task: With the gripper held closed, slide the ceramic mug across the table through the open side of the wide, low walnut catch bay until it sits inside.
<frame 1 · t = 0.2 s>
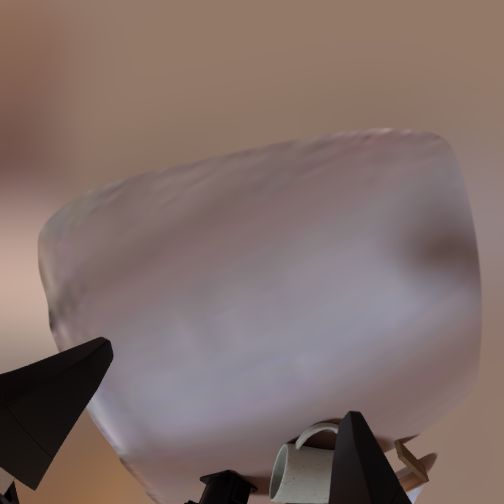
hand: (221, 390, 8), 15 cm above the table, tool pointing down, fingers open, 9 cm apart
catch bay: (358, 482, 26), on the table
ceramic mug: (312, 446, 26), on the table
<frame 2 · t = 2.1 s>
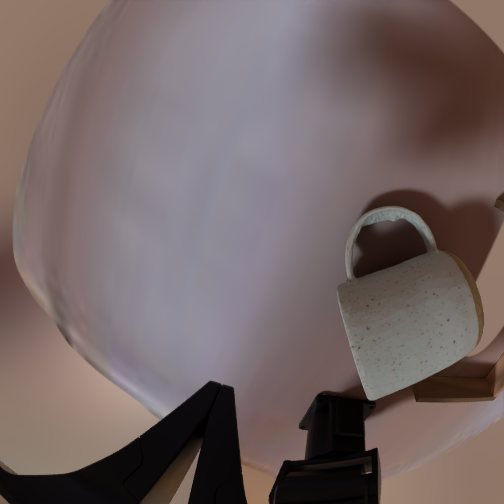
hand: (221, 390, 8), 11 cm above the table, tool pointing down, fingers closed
catch bay: (498, 312, 16), on the table
ceramic mug: (389, 277, 18), on the table
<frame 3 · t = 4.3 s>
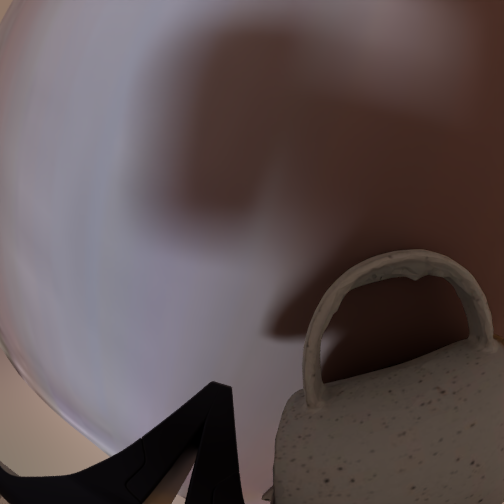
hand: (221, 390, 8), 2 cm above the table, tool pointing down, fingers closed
ceramic mug: (392, 364, 9), on the table, touching gripper
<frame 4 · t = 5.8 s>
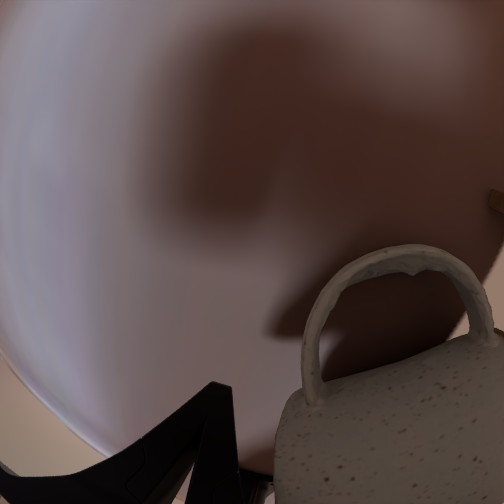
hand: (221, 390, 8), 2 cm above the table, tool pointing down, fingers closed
ceramic mug: (393, 361, 9), on the table, touching gripper
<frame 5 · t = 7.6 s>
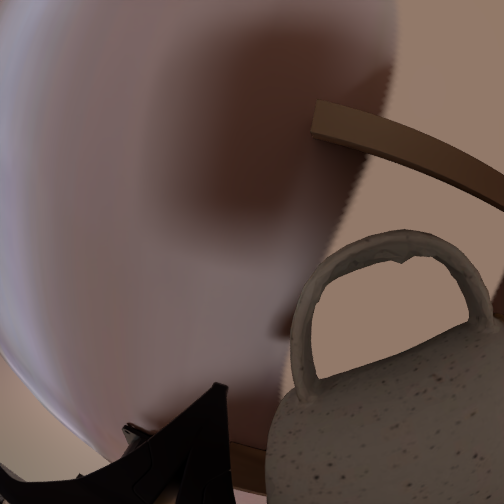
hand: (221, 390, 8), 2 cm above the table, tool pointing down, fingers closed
catch bay: (391, 386, 9), on the table
ceramic mug: (394, 354, 9), on the table, touching catch bay, gripper
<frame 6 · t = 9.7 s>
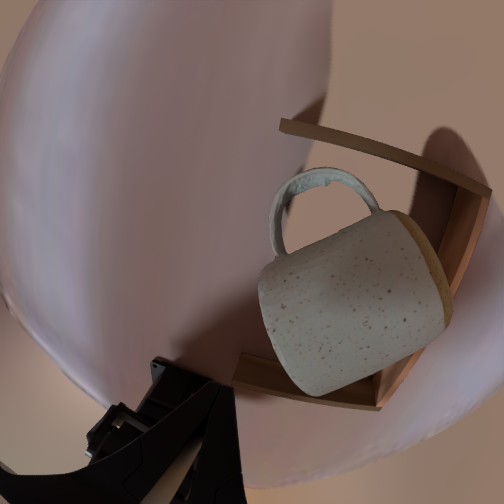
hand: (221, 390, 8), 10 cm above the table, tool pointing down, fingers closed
catch bay: (349, 284, 17), on the table
ceramic mug: (338, 253, 16), on the table
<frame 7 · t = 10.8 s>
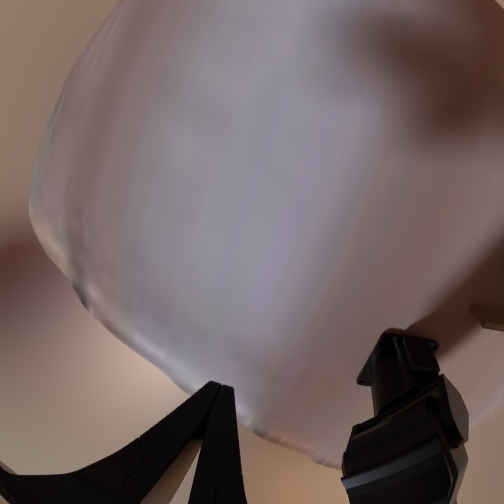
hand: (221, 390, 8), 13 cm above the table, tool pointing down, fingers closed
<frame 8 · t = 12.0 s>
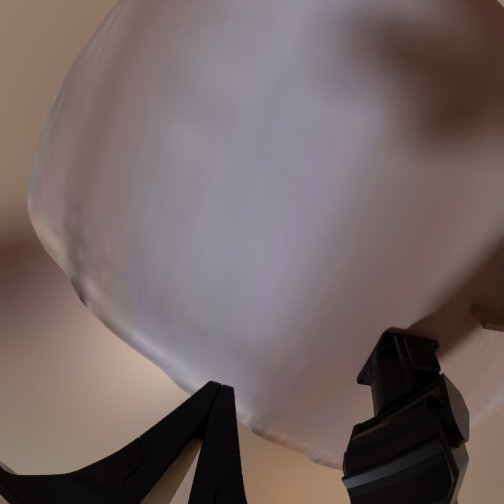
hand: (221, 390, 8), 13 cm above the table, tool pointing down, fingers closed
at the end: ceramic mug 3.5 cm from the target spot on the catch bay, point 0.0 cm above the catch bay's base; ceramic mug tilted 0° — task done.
